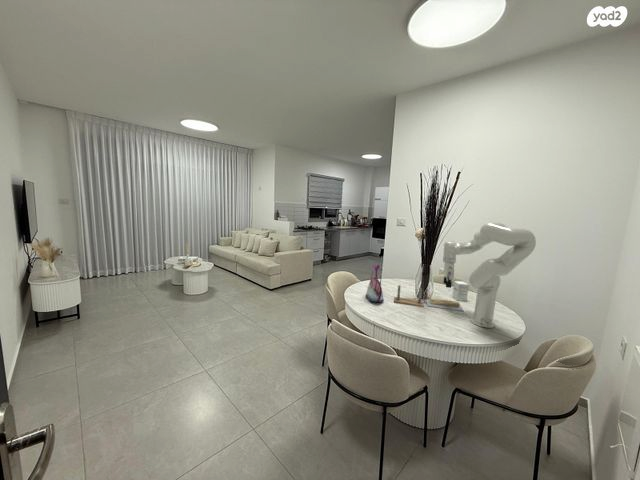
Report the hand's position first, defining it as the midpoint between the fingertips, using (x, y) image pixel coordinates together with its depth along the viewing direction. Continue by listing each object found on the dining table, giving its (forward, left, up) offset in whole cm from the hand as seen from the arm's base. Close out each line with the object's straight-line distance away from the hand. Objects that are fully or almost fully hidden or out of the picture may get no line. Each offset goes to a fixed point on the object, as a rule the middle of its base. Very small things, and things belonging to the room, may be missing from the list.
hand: (447, 285), depth 179 cm
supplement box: (+20, -13, -15) cm, 28 cm away
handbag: (-6, +47, -15) cm, 49 cm away
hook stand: (-2, +24, -15) cm, 28 cm away
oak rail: (0, 0, -14) cm, 14 cm away
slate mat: (+1, +1, -15) cm, 15 cm away
